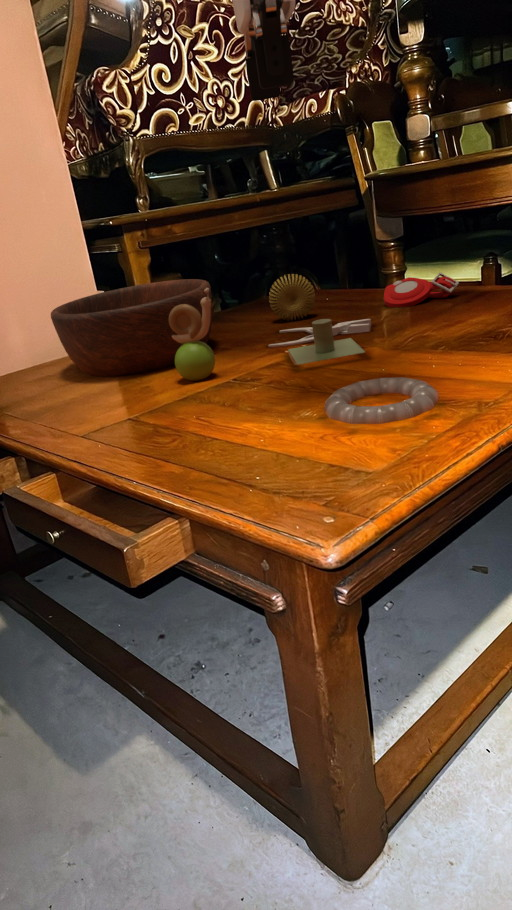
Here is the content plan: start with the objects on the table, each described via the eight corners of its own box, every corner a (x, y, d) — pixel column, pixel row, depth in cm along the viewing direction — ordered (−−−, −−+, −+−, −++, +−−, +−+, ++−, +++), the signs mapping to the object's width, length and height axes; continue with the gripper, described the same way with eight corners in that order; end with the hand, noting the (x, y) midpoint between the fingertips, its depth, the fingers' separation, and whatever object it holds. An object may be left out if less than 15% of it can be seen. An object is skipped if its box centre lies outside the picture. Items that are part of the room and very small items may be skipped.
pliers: (279, 324, 112) (372, 314, 109) (280, 334, 113) (373, 324, 109) (267, 340, 104) (367, 328, 100) (268, 350, 104) (368, 339, 100)
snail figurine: (220, 383, 91) (203, 291, 86) (174, 388, 92) (155, 298, 88) (229, 371, 96) (213, 284, 91) (185, 376, 97) (167, 290, 93)
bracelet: (418, 389, 76) (416, 368, 75) (455, 421, 65) (453, 397, 64) (318, 407, 75) (315, 386, 75) (338, 443, 65) (335, 419, 64)
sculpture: (272, 326, 119) (265, 279, 116) (272, 321, 123) (265, 276, 120) (319, 319, 118) (312, 271, 115) (317, 314, 122) (311, 268, 119)
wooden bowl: (62, 395, 98) (43, 324, 95) (70, 359, 121) (54, 300, 118) (233, 359, 102) (221, 289, 98) (209, 330, 125) (198, 272, 121)
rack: (351, 346, 98) (347, 309, 96) (366, 360, 90) (362, 321, 88) (289, 357, 98) (283, 321, 96) (298, 373, 89) (292, 334, 87)
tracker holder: (392, 305, 114) (371, 283, 122) (398, 327, 116) (377, 305, 124) (461, 274, 113) (435, 255, 121) (465, 298, 116) (439, 277, 124)
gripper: (297, -168, 55) (324, 73, 61) (272, -88, 71) (295, 97, 77) (204, -153, 55) (240, 87, 61) (200, -76, 71) (229, 108, 77)
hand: (271, 92), depth 69 cm, fingers open, 9 cm apart
